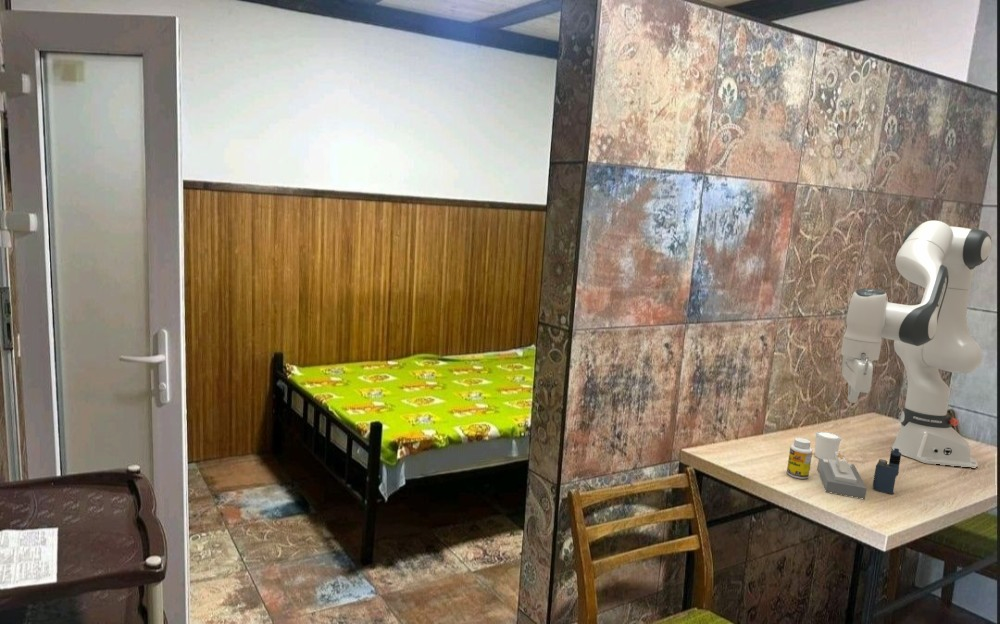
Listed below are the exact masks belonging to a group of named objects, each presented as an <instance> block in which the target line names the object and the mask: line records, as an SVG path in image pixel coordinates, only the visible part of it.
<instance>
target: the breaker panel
mask: <svg viewBox="0 0 1000 624" xmlns="http://www.w3.org/2000/svg"><path fill="white" fill-rule="evenodd" d="M846 463H847V470H848V472H841V471H840V469H839V466H838V465H837V462H836V460H832V459H828V460H827V459H819V458H818V461H817V467H816V468H817V472H818V474H819V477H820V481H821V482H822V485H824V486H823V488H825V489H824V491H825V490H826V491H825V493H827V492H832V493H831V494H833V493H837V494H836V495H838V494H842V495H841V496H844V495H847V496H846V497H849V496H853V497H852V498H854V497H858V498H857V499H860V498H863V499H862V500H865V499H866V492H867V486H866V485H865V483H864V481H863V479H862V477H861V476H860V473H859V472H858V470H857V467H856V465H855V464H852V463H850V462H848V461H846Z"/></svg>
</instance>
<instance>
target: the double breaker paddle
mask: <svg viewBox="0 0 1000 624" xmlns="http://www.w3.org/2000/svg"><path fill="white" fill-rule="evenodd" d="M835 456H836V462H837V465H838V466H839V469H840V471H841V472H848V470H847V463H846V462H847V460H846V458H845V456H844V454H843V452H842V450H840V451H839V450H838V451H836V452H835Z"/></svg>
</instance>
